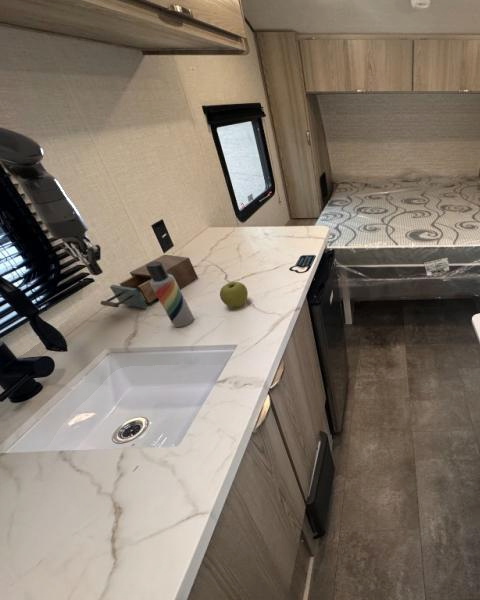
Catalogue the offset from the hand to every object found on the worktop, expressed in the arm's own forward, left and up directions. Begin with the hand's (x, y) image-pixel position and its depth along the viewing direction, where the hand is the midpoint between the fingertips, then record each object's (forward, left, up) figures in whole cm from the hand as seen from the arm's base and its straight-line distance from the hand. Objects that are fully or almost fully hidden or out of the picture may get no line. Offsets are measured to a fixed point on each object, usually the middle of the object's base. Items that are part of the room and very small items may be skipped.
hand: (97, 273), depth 95 cm
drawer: (+7, 0, -14) cm, 15 cm away
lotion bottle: (+2, -23, -15) cm, 28 cm away
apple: (+14, -33, -15) cm, 39 cm away
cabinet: (+18, 0, -15) cm, 23 cm away
